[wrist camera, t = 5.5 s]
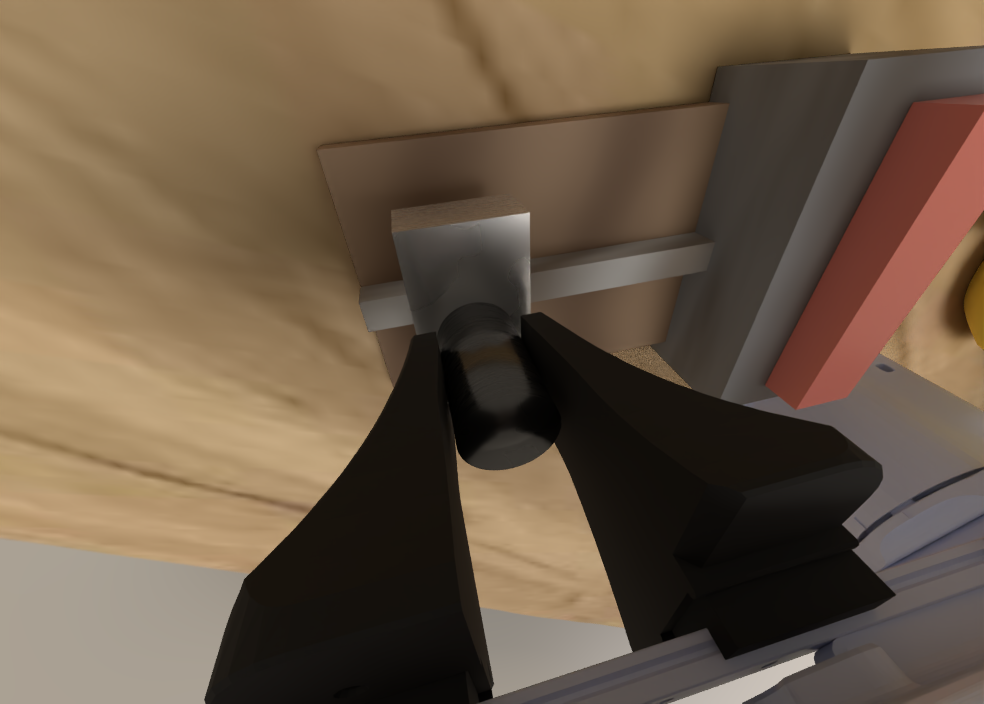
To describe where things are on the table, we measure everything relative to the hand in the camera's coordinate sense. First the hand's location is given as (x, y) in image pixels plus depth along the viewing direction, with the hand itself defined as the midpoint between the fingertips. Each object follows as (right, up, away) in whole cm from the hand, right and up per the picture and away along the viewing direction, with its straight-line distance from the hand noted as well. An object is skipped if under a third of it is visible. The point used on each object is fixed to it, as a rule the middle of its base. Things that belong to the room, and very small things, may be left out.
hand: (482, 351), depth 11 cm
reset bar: (+13, +3, +2) cm, 13 cm away
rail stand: (+5, +4, +5) cm, 8 cm away
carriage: (-1, +2, +3) cm, 4 cm away
